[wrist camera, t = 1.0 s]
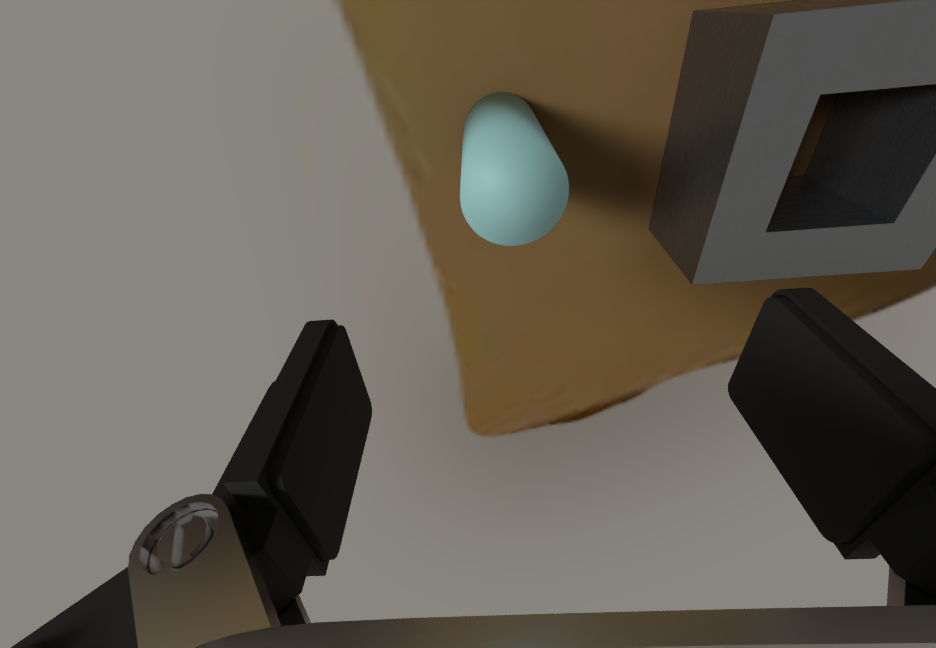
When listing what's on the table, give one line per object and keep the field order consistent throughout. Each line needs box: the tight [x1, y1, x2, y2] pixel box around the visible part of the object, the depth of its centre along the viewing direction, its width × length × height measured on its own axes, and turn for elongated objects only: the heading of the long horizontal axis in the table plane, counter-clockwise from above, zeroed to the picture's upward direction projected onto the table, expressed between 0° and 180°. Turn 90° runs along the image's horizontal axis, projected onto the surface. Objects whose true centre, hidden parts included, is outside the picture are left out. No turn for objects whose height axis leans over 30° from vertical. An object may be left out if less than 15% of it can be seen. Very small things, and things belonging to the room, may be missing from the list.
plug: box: [460, 92, 569, 246], centre depth 20 cm, size 4×4×10 cm
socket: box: [649, 0, 936, 285], centre depth 21 cm, size 12×12×7 cm
